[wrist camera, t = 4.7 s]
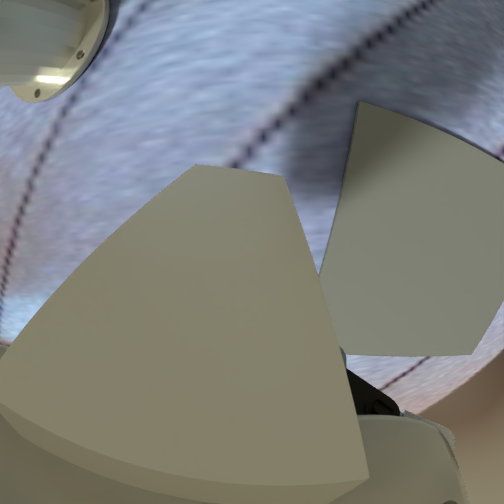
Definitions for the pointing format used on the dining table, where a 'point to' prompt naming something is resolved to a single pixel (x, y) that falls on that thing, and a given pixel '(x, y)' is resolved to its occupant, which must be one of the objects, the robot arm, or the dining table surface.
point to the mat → (414, 241)
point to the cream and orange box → (194, 354)
